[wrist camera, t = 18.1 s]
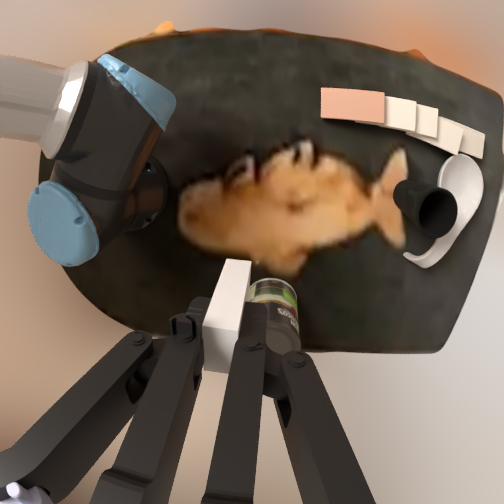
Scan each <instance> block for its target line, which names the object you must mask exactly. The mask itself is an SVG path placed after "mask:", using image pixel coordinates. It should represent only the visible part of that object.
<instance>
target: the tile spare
mask: <svg viewBox="0 0 504 504" xmlns="http://www.w3.org/2000/svg"><path fill="white" fill-rule="evenodd" d="M321 118H329V119H342V120H354V121H364V122H373V123H381V124H384V93H383V92H374V91H365V90H353V89H339V88H321Z"/></svg>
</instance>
